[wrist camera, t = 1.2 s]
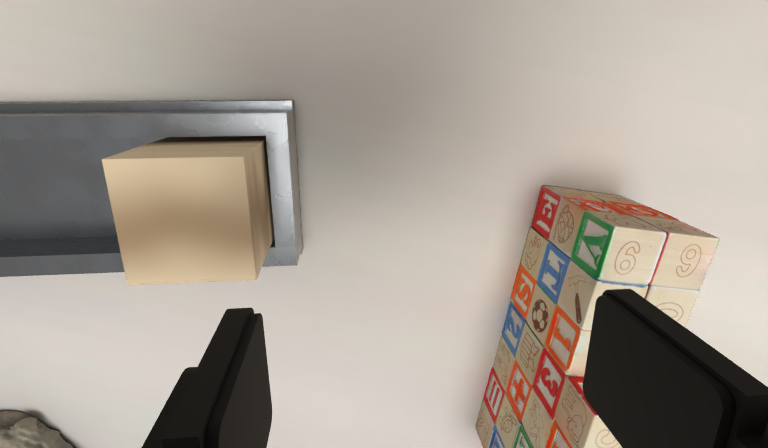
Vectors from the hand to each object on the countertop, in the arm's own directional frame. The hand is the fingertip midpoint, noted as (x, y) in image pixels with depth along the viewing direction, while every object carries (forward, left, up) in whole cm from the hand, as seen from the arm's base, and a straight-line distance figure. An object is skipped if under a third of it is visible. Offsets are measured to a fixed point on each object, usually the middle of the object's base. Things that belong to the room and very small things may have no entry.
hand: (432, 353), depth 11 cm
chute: (0, -18, -20) cm, 27 cm away
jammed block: (0, -9, -19) cm, 21 cm away
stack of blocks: (+12, +13, -20) cm, 27 cm away
